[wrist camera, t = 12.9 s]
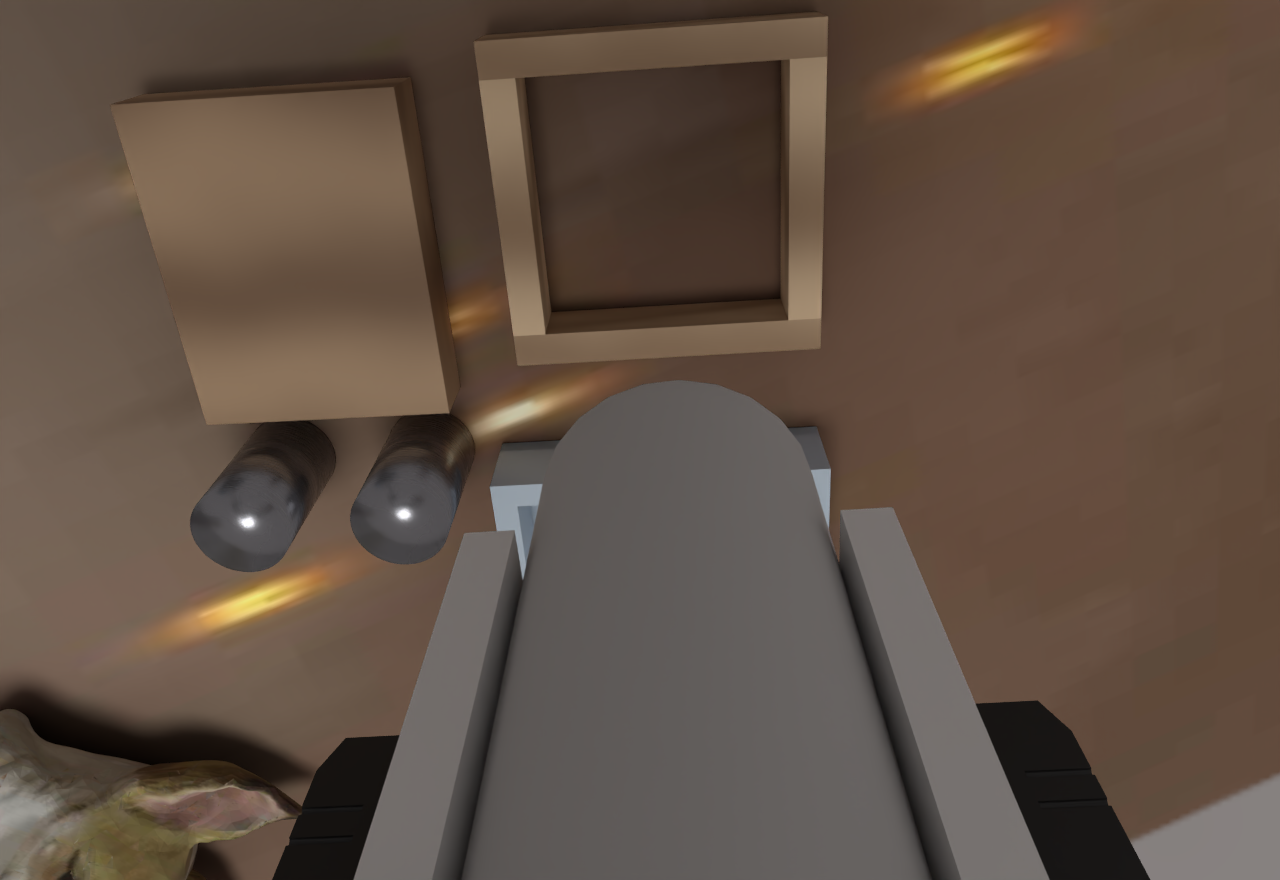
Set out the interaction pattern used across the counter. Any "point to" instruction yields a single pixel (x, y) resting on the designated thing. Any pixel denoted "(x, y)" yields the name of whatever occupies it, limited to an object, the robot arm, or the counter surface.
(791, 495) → the beverage can
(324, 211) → the board
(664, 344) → the collar
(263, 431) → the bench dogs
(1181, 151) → the counter surface
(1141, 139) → the counter surface
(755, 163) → the counter surface
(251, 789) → the ceramic sculpture
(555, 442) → the tray
